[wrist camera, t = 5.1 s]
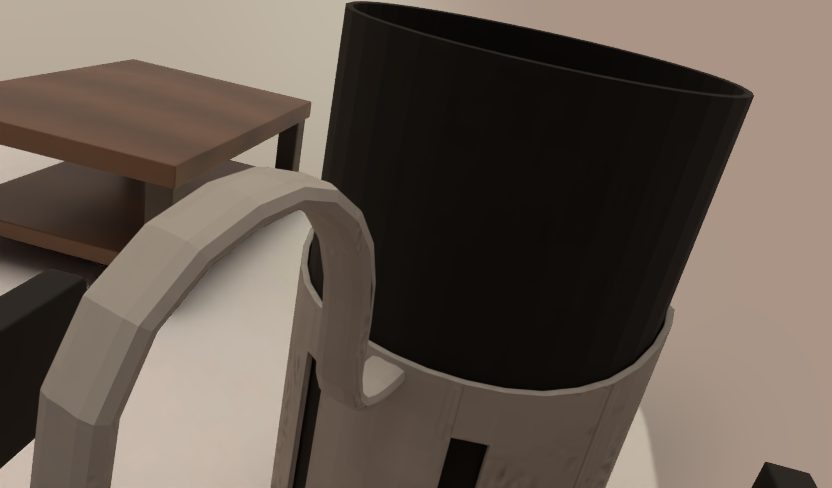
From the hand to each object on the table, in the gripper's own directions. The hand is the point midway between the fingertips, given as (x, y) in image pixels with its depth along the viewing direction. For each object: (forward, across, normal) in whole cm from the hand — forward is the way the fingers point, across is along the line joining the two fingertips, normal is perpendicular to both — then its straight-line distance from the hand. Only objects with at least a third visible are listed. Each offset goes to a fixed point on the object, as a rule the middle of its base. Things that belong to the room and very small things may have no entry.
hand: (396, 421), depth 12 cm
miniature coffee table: (+20, -17, -8) cm, 28 cm away
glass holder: (0, 0, -8) cm, 8 cm away
